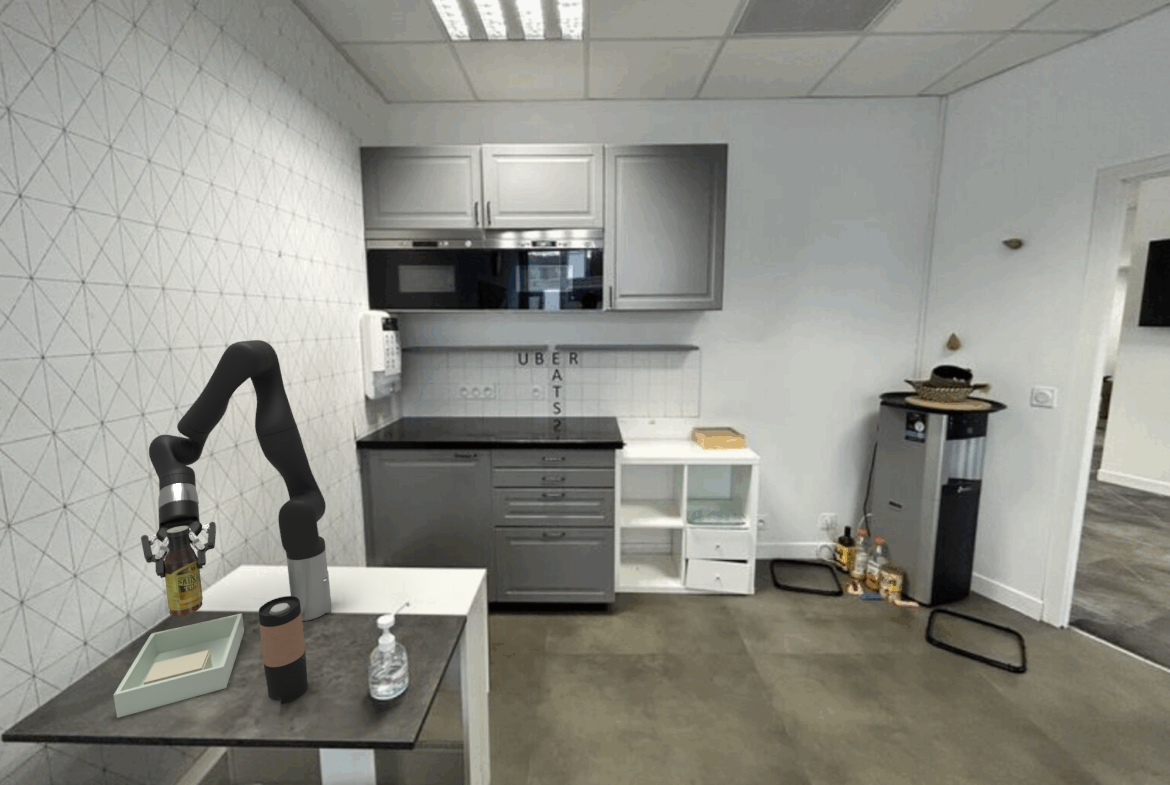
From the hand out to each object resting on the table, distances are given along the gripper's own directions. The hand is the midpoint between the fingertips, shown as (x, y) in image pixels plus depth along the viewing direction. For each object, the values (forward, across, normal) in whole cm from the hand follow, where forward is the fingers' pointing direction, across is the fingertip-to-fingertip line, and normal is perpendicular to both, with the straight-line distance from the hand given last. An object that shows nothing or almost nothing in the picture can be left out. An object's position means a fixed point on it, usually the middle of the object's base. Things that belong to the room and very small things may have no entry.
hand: (181, 571), depth 113 cm
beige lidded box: (+22, -2, +9) cm, 24 cm away
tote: (+19, -1, +14) cm, 23 cm away
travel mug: (+33, +17, -1) cm, 37 cm away
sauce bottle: (+6, 0, +9) cm, 11 cm away
